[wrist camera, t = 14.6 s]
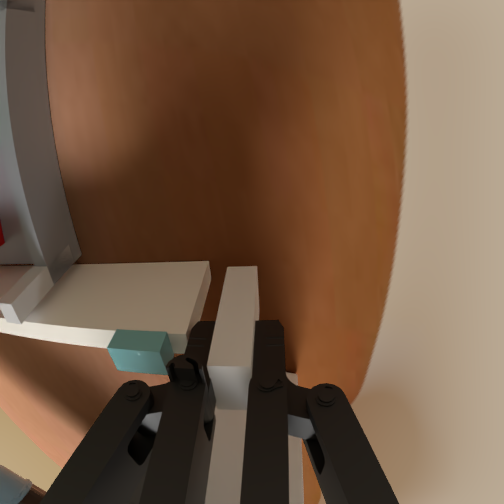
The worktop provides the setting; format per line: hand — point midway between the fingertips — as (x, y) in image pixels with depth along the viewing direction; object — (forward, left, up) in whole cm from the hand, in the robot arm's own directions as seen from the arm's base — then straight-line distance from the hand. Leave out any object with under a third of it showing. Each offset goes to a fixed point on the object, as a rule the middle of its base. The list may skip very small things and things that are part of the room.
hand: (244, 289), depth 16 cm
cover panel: (0, +11, -2) cm, 11 cm away
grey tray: (+10, +20, -2) cm, 23 cm away
